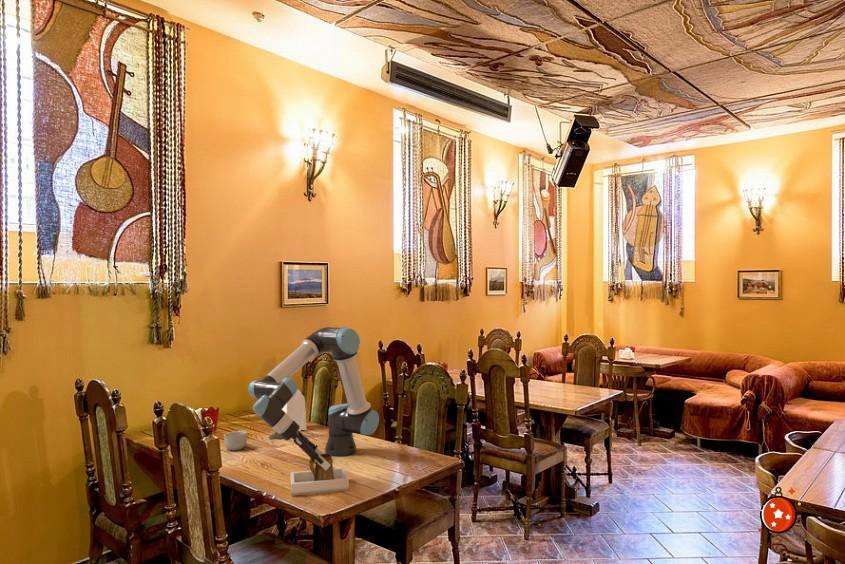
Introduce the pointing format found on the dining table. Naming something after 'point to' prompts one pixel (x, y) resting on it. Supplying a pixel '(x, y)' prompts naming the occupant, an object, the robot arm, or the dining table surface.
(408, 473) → the dining table surface
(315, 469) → the wooden mug
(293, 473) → the tray
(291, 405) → the milk
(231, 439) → the teacup
